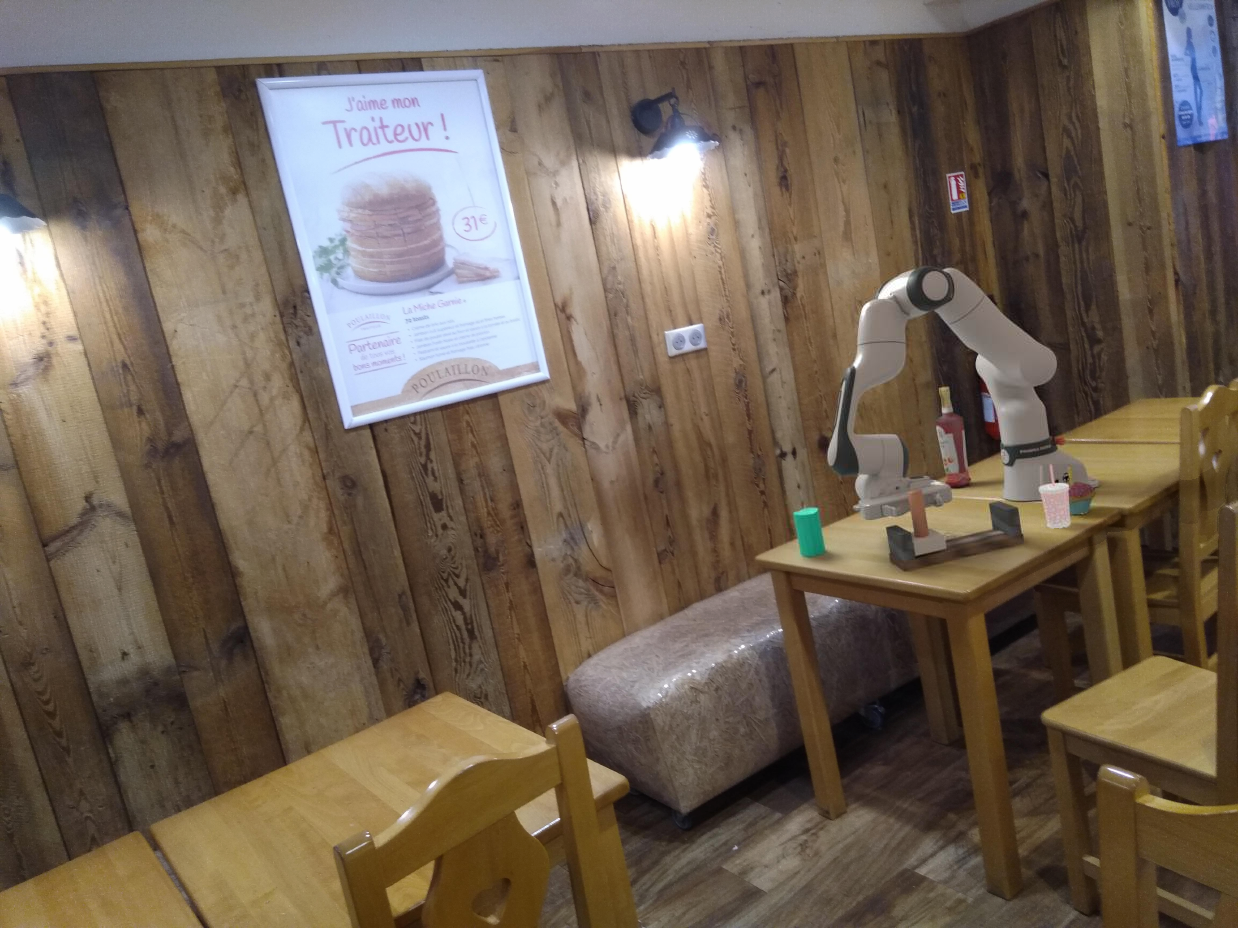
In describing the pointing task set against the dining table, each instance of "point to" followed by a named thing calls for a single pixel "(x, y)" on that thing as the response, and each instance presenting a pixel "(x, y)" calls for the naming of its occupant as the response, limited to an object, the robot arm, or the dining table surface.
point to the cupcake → (1079, 495)
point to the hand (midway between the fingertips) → (919, 507)
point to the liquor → (952, 443)
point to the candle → (809, 532)
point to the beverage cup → (1056, 503)
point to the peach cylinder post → (923, 527)
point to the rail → (959, 540)
